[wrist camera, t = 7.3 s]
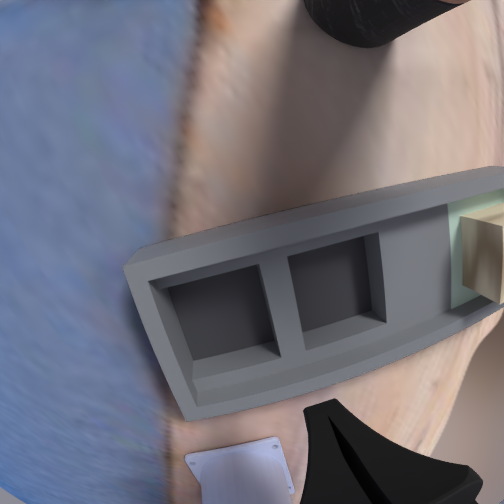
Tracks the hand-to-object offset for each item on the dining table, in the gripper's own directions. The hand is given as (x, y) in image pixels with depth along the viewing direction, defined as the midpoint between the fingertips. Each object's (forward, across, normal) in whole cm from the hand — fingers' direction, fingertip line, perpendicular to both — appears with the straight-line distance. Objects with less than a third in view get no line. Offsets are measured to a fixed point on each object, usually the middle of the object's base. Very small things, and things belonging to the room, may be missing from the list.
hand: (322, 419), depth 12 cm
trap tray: (+9, -6, -2) cm, 12 cm away
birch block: (+7, -16, -2) cm, 17 cm away
